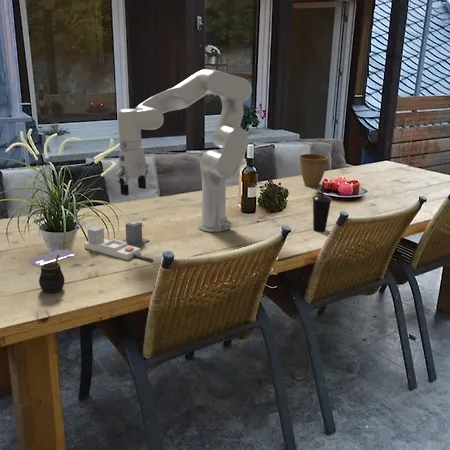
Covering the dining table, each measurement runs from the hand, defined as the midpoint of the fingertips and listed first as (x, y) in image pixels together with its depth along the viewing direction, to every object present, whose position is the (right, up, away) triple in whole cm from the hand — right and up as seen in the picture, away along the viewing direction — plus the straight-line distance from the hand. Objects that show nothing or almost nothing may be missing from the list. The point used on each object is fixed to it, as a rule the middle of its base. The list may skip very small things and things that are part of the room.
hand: (133, 191), depth 188 cm
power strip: (-4, -22, -4) cm, 23 cm away
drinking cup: (+72, -15, +24) cm, 77 cm away
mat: (-1, -19, +6) cm, 20 cm away
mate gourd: (-19, -32, -32) cm, 49 cm away
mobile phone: (-27, -24, -9) cm, 37 cm away
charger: (-1, -18, +6) cm, 19 cm away
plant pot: (+80, +9, +91) cm, 122 cm away
